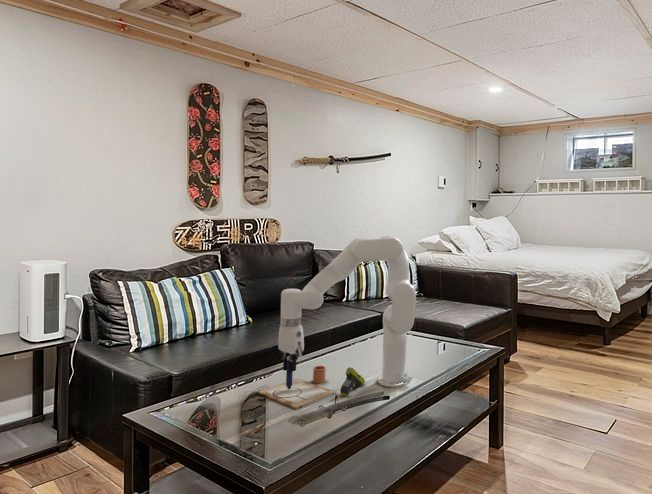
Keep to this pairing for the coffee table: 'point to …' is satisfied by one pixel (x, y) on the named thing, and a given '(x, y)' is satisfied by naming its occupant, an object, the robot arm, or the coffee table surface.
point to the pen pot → (319, 374)
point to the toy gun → (351, 381)
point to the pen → (288, 376)
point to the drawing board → (296, 393)
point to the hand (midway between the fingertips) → (289, 370)
